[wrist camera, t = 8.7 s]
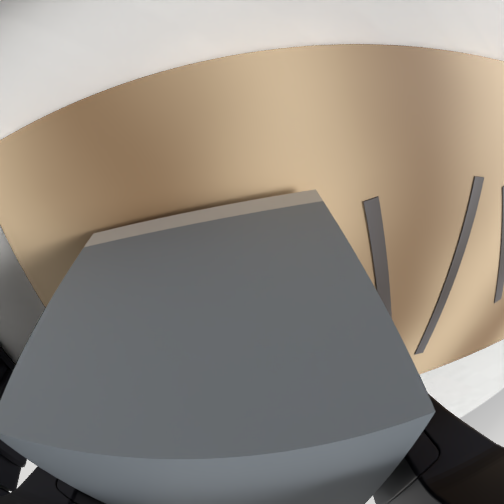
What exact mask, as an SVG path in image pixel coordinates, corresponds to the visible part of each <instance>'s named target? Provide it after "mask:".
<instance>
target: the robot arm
mask: <svg viewBox="0 0 504 504" xmlns="http://www.w3.org/2000/svg"><path fill="white" fill-rule="evenodd" d="M15 366H16V365H15V364H14V363H13V362H12V361H11V359H10V358H9V357H8V356H7V355H6V353H5V352H4V351H3V350H2V348H1V347H0V400H1V398H2V395H3V393H4V391H5V388H6V386H7V384H8V381H9V379H10V377H11V375H12V372H13V370H14V368H15ZM428 395H429V394H428ZM429 397H430V400H431V402H432V404H433V407H434V409H435V411H436V412H435V413H434V415H433V417H432V418H431V420H430V421H429V423H428V424H427V426H426V427H425V429H424V430H423V432H422V433H421V435H420V436H419V437H418V439H417V440H416V442H415V443H414V445H413V446H412V447H411V449H410V450H409V451H408V453H407V454H406V455H405V457H404V458H403V459H402V461H401V462H400V463H399V465H398V466H397V467H396V468H395V470H394V471H393V472H392V473H391V475H390V476H389V477H388V478H387V479H386V481H385V482H384V483H383V484H382V485H381V486H380V488H379V489H378V490H377V491H376V492H375V493H374V494H373V497H374V500H375V503H376V504H504V447H501V446H500V445H498V444H496V443H494V442H493V441H491V440H490V439H488V438H487V437H485V436H484V435H482V434H481V433H479V432H478V431H476V430H475V429H474V428H472V427H470V426H469V425H468V424H466V423H465V422H463V421H462V420H460V419H459V418H458V417H456V416H455V415H454V414H452V413H451V412H450V411H448V410H447V409H446V408H444V407H443V406H442V405H441V404H440V403H438V402H437V401H436V400H435V399H434V398H433V397H431V396H430V395H429ZM26 461H27V459H26V458H25V457H24V456H22V455H21V454H19V453H18V452H17V451H15V450H14V449H12V448H11V447H10V446H8V445H7V444H6V443H4V442H3V441H2V440H1V439H0V504H106V503H104V502H102V501H99V500H97V499H95V498H93V497H91V496H89V495H87V494H85V493H83V492H81V491H79V490H78V489H76V488H74V487H72V486H70V485H68V484H67V483H65V482H63V481H61V480H60V479H58V478H56V477H55V476H53V475H51V474H50V473H48V472H46V471H45V470H43V469H42V468H40V467H37V468H36V469H35V470H34V471H33V473H31V474H30V475H29V477H28V478H27V479H26V480H25V481H24V482H23V483H22V484H21V485H20V486H19V487H18V488H17V483H18V479H19V474H20V471H21V467H24V466H25V464H26ZM16 488H17V489H16ZM8 491H12V492H11V493H10V492H8Z"/></svg>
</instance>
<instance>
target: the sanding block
mask: <svg viewBox="0 0 504 504" xmlns="http://www.w3.org/2000/svg"><path fill="white" fill-rule="evenodd" d="M435 412H436V411H435V409H434V407H433V404H432V402H431V400H430V397H429V395H428V393H427V391H426V388H425V386H424V384H423V382H422V380H421V377H420V375H419V373H418V371H417V369H416V367H415V365H414V362H413V360H412V358H411V356H410V354H409V352H408V350H407V348H406V346H405V344H404V342H403V340H402V338H401V336H400V334H399V332H398V330H397V328H396V326H395V324H394V322H393V320H392V318H391V316H390V315H389V313H388V311H387V309H386V307H385V305H384V303H383V301H382V300H381V298H380V296H379V294H378V292H377V290H376V289H375V287H374V285H373V283H372V281H371V280H370V278H369V276H368V274H367V273H366V271H365V269H364V267H363V266H362V264H361V262H360V260H359V259H358V257H357V255H356V253H355V252H354V250H353V248H352V247H351V245H350V243H349V242H348V240H347V238H346V237H345V235H344V233H343V232H342V230H341V229H340V227H339V225H338V224H337V222H336V220H335V219H334V217H333V216H332V214H331V212H330V211H329V209H328V208H327V206H326V205H325V203H324V201H323V200H322V198H321V197H320V195H319V194H318V192H317V191H316V189H315V190H309V191H302V192H296V193H290V194H284V195H278V196H272V197H266V198H261V199H255V200H249V201H244V202H238V203H233V204H228V205H222V206H217V207H212V208H207V209H202V210H197V211H192V212H187V213H182V214H177V215H172V216H168V217H163V218H158V219H154V220H149V221H145V222H140V223H136V224H131V225H127V226H123V227H118V228H114V229H110V230H106V231H102V232H97V233H93V235H92V236H91V238H90V239H89V240H88V242H87V243H86V245H85V246H84V248H83V249H82V251H81V252H80V254H79V255H78V257H77V258H76V260H75V261H74V263H73V264H72V266H71V267H70V269H69V270H68V272H67V274H66V275H65V277H64V278H63V280H62V282H61V283H60V285H59V286H58V288H57V290H56V291H55V293H54V295H53V296H52V298H51V300H50V302H49V303H48V305H47V307H46V308H45V310H44V312H43V314H42V316H41V317H40V319H39V321H38V323H37V325H36V326H35V328H34V330H33V332H32V334H31V336H30V338H29V340H28V342H27V344H26V346H25V348H24V349H23V352H22V354H21V356H20V358H19V360H18V362H17V364H16V366H15V368H14V370H13V372H12V375H11V377H10V379H9V381H8V384H7V386H6V388H5V391H4V393H3V395H2V398H1V400H0V439H1V440H2V441H3V442H4V443H6V444H7V445H8V446H10V447H11V448H12V449H14V450H15V451H17V452H18V453H19V454H21V455H22V456H24V457H25V458H26V459H28V460H29V461H31V462H32V463H34V464H36V465H37V466H38V467H40V468H42V469H43V470H45V471H46V472H48V473H50V474H51V475H53V476H55V477H56V478H58V479H60V480H61V481H63V482H65V483H67V484H68V485H70V486H72V487H74V488H76V489H78V490H79V491H81V492H83V493H85V494H87V495H89V496H91V497H93V498H95V499H97V500H99V501H102V502H104V503H106V504H365V503H366V502H367V501H368V500H369V499H370V498H371V496H372V495H373V494H374V493H375V492H376V491H377V490H378V489H379V488H380V486H381V485H382V484H383V483H384V482H385V481H386V479H387V478H388V477H389V476H390V475H391V473H392V472H393V471H394V470H395V468H396V467H397V466H398V465H399V463H400V462H401V461H402V459H403V458H404V457H405V455H406V454H407V453H408V451H409V450H410V449H411V447H412V446H413V445H414V443H415V442H416V440H417V439H418V437H419V436H420V435H421V433H422V432H423V430H424V429H425V427H426V426H427V424H428V423H429V421H430V420H431V418H432V417H433V415H434V413H435Z"/></svg>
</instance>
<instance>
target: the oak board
mask: <svg viewBox="0 0 504 504" xmlns="http://www.w3.org/2000/svg"><path fill="white" fill-rule="evenodd" d="M315 189H316V191H317V192H318V194H319V195H320V197H321V198H322V200H323V201H324V203H325V205H326V206H327V208H328V209H329V211H330V212H331V214H332V216H333V217H334V219H335V220H336V222H337V224H338V225H339V227H340V229H341V230H342V232H343V233H344V235H345V237H346V238H347V240H348V242H349V243H350V245H351V247H352V248H353V250H354V252H355V253H356V255H357V257H358V259H359V260H360V262H361V264H362V266H363V267H364V269H365V271H366V273H367V274H368V276H369V278H370V280H371V281H372V283H373V285H374V287H375V289H376V290H377V292H378V294H379V296H380V298H381V300H382V301H383V303H384V305H385V307H386V309H387V311H388V313H389V315H390V316H391V318H392V320H393V322H394V324H395V326H396V328H397V330H398V332H399V334H400V336H401V338H402V340H403V342H404V344H405V346H406V348H407V350H408V352H409V354H410V356H411V358H412V360H413V362H414V365H415V367H416V369H417V371H418V373H419V374H422V373H424V372H427V371H430V370H433V369H435V368H438V367H441V366H443V365H446V364H448V363H451V362H453V361H456V360H458V359H461V358H463V357H466V356H468V355H470V354H473V353H475V352H477V351H479V350H482V349H484V348H486V347H488V346H490V345H492V344H494V343H497V342H499V341H501V340H503V339H504V61H500V60H496V59H491V58H487V57H482V56H477V55H472V54H466V53H460V52H454V51H447V50H440V49H432V48H423V47H412V46H398V45H375V44H339V45H316V46H302V47H290V48H281V49H272V50H264V51H257V52H250V53H244V54H238V55H232V56H227V57H221V58H216V59H212V60H207V61H202V62H198V63H194V64H189V65H185V66H181V67H177V68H173V69H170V70H166V71H163V72H159V73H156V74H152V75H149V76H146V77H142V78H139V79H136V80H133V81H130V82H127V83H124V84H121V85H118V86H115V87H113V88H110V89H107V90H105V91H102V92H99V93H97V94H94V95H92V96H89V97H87V98H84V99H82V100H80V101H77V102H75V103H73V104H70V105H68V106H66V107H63V108H61V109H59V110H57V111H55V112H53V113H51V114H49V115H46V116H44V117H42V118H40V119H38V120H36V121H34V122H33V123H31V124H29V125H27V126H25V127H23V128H21V129H19V130H18V131H16V132H14V133H12V134H10V135H9V136H7V137H5V138H3V139H2V140H0V225H1V227H2V229H3V232H4V234H5V236H6V238H7V240H8V242H9V244H10V246H11V248H12V250H13V252H14V254H15V256H16V258H17V260H18V262H19V263H20V265H21V267H22V269H23V271H24V273H25V274H26V276H27V278H28V280H29V281H30V283H31V285H32V287H33V288H34V290H35V292H36V293H37V295H38V297H39V298H40V300H41V302H42V303H43V305H44V306H45V308H46V307H47V305H48V303H49V302H50V300H51V298H52V296H53V295H54V293H55V291H56V290H57V288H58V286H59V285H60V283H61V282H62V280H63V278H64V277H65V275H66V274H67V272H68V270H69V269H70V267H71V266H72V264H73V263H74V261H75V260H76V258H77V257H78V255H79V254H80V252H81V251H82V249H83V248H84V246H85V245H86V243H87V242H88V240H89V239H90V238H91V236H92V235H93V233H97V232H102V231H106V230H110V229H114V228H118V227H123V226H127V225H131V224H136V223H140V222H145V221H149V220H154V219H158V218H163V217H168V216H172V215H177V214H182V213H187V212H192V211H197V210H202V209H207V208H212V207H217V206H222V205H228V204H233V203H238V202H244V201H249V200H255V199H261V198H266V197H272V196H278V195H284V194H290V193H296V192H302V191H309V190H315Z"/></svg>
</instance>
